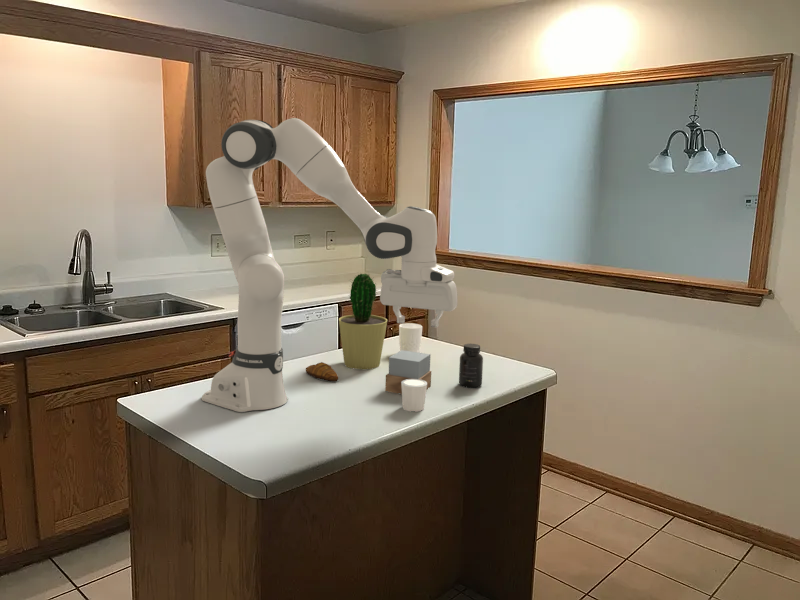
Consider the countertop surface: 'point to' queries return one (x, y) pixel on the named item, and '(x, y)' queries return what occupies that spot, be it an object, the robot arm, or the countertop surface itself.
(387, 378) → the bottom block
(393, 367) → the top block
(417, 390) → the white piece
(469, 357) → the supplement bottle
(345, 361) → the potted cactus
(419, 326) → the white cup
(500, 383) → the countertop surface
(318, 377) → the croissant
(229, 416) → the countertop surface
